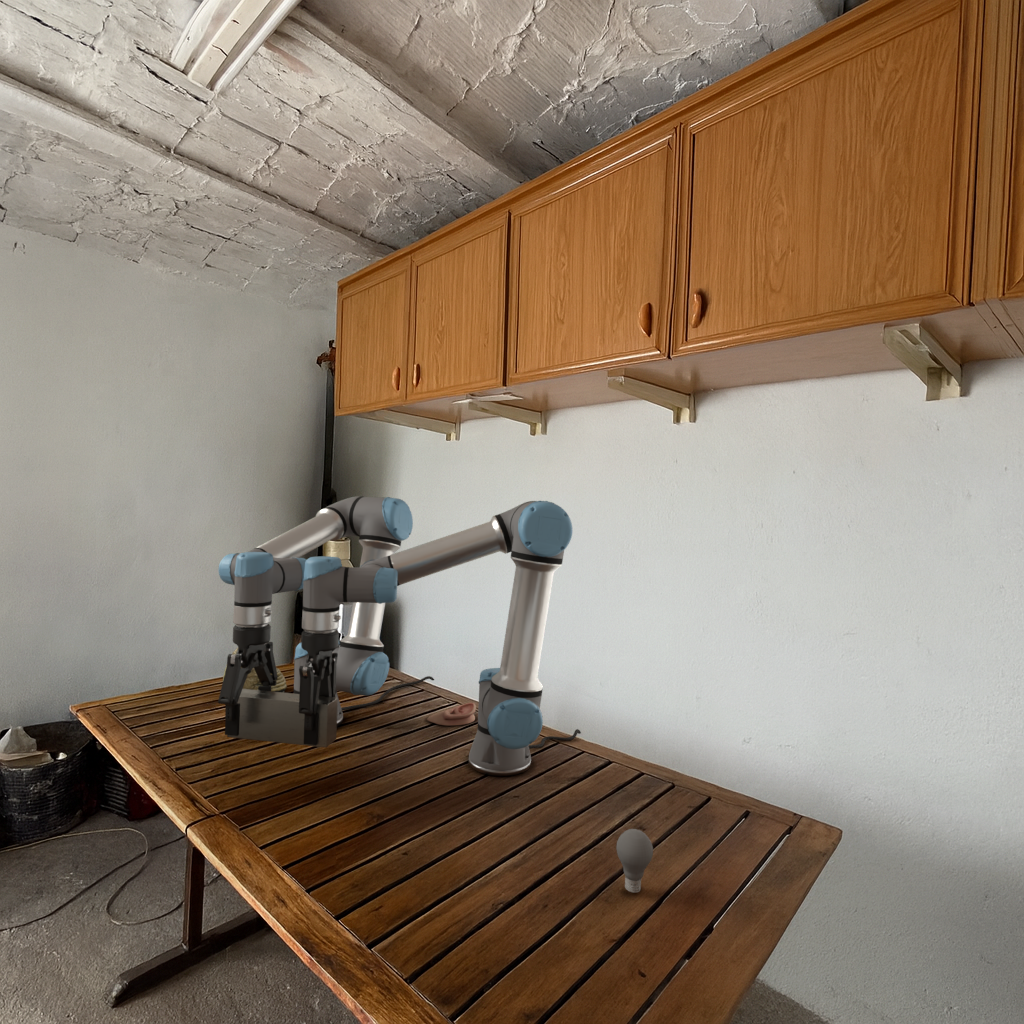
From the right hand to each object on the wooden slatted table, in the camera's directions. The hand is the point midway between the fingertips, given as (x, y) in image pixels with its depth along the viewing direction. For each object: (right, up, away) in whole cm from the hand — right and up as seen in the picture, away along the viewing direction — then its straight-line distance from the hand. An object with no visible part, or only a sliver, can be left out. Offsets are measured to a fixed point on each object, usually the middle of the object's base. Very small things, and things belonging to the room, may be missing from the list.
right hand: (316, 738), depth 134 cm
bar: (-8, 0, +1) cm, 8 cm away
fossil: (-39, -9, +64) cm, 75 cm away
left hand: (-15, +2, +2) cm, 16 cm away
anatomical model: (+24, -12, +49) cm, 56 cm away
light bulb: (+62, -15, -29) cm, 70 cm away
